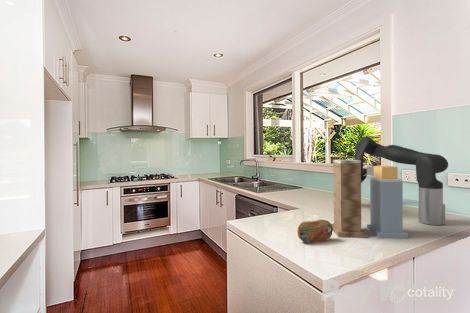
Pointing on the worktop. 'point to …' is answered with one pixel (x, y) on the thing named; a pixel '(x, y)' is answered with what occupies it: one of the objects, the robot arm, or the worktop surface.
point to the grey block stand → (386, 208)
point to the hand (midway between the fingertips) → (366, 165)
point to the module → (383, 172)
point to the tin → (314, 231)
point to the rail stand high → (347, 199)
